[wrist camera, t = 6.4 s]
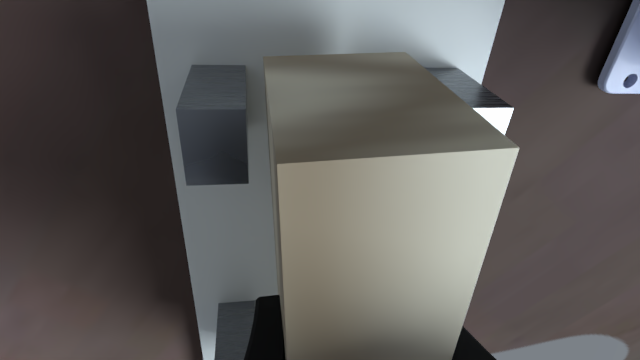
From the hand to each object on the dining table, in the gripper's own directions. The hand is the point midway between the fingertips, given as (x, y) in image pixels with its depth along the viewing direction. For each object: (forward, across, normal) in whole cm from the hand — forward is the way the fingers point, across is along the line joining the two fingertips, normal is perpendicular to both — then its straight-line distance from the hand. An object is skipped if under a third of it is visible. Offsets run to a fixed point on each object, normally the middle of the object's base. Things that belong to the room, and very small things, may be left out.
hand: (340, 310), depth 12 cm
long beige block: (+2, 0, 0) cm, 2 cm away
